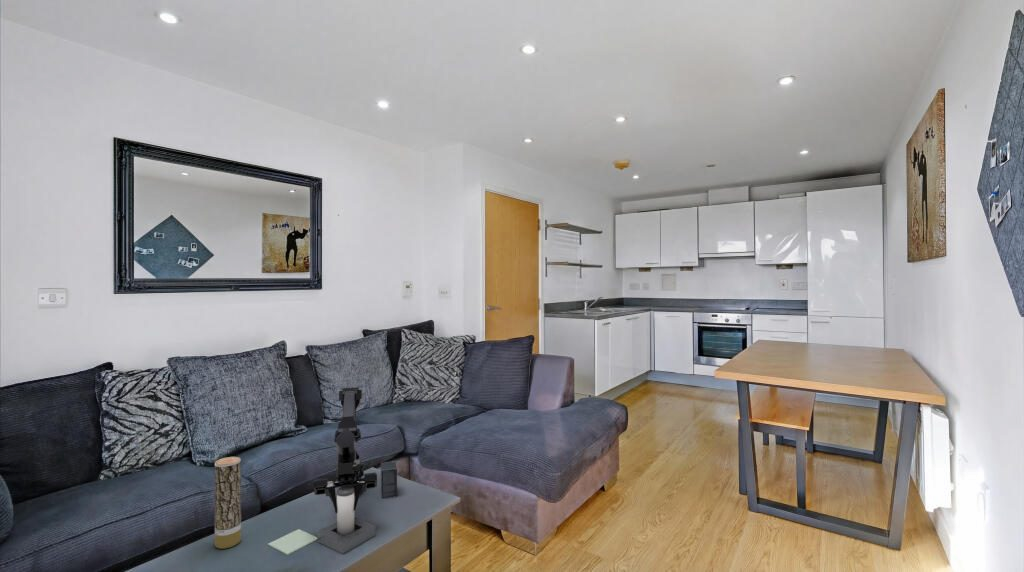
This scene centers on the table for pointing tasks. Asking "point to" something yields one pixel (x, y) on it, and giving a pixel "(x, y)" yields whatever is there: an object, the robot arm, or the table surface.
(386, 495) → the box
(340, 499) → the plug
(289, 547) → the mat
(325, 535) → the frame
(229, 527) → the bark textured cylinder
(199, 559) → the table surface
